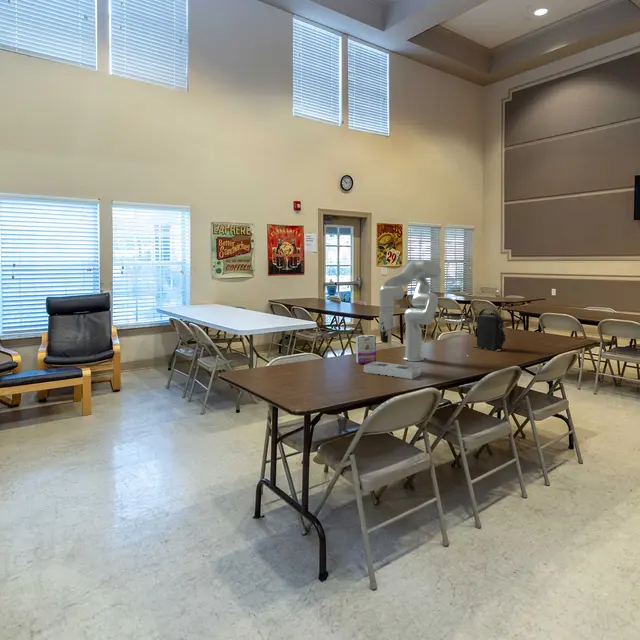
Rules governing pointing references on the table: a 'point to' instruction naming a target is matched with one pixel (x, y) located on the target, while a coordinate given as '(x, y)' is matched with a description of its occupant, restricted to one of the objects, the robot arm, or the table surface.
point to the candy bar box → (365, 349)
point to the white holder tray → (392, 370)
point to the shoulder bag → (490, 330)
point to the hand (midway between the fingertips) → (386, 341)
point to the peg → (388, 344)
